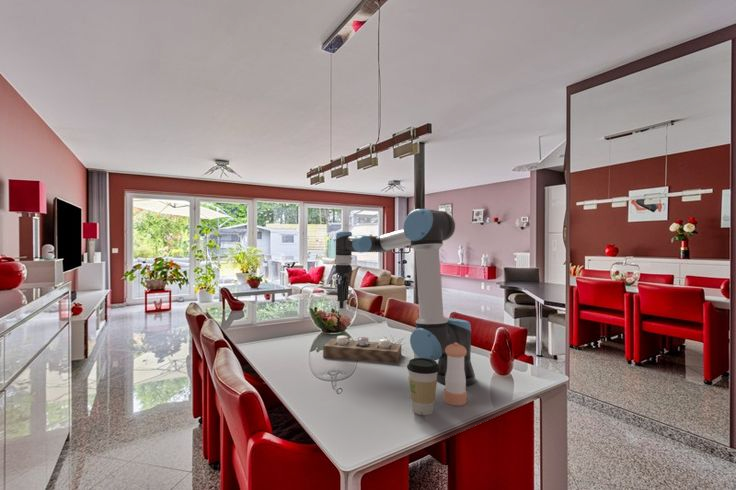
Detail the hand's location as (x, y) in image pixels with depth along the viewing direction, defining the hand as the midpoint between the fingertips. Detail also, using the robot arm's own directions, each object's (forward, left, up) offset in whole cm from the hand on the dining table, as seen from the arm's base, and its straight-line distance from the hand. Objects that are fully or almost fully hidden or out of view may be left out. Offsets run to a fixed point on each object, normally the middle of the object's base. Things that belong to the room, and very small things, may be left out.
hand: (342, 314), depth 168 cm
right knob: (0, -20, -15) cm, 25 cm away
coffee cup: (-49, -41, -19) cm, 67 cm away
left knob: (0, 0, -15) cm, 15 cm away
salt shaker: (-39, -51, -19) cm, 67 cm away
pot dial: (0, -10, -15) cm, 18 cm away
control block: (0, -10, -18) cm, 21 cm away
